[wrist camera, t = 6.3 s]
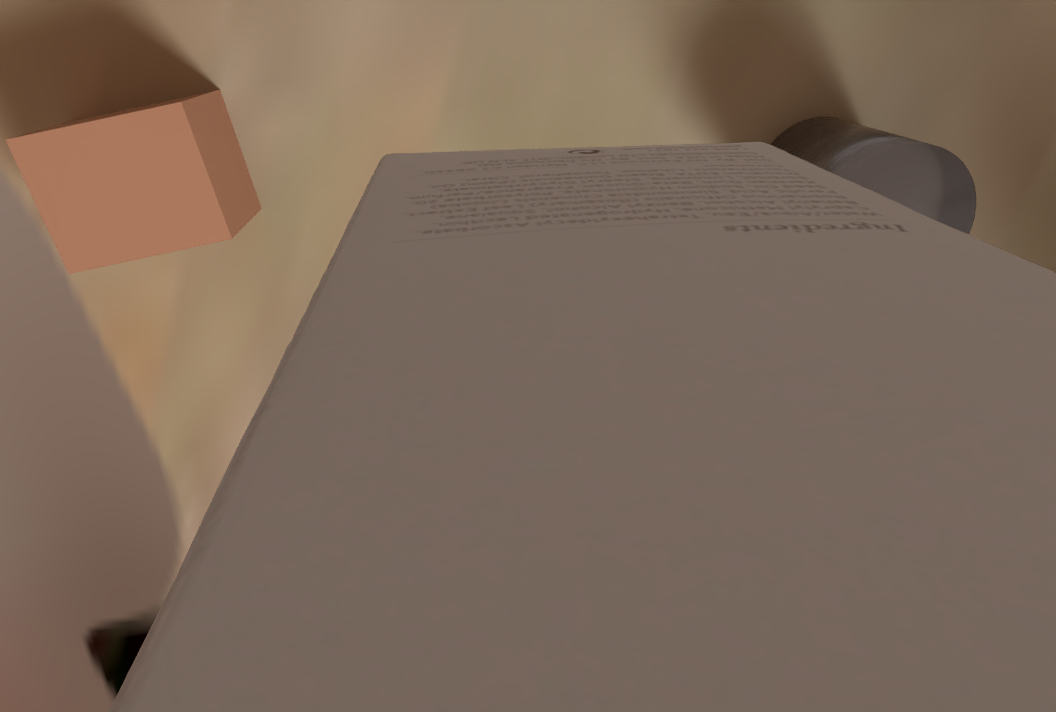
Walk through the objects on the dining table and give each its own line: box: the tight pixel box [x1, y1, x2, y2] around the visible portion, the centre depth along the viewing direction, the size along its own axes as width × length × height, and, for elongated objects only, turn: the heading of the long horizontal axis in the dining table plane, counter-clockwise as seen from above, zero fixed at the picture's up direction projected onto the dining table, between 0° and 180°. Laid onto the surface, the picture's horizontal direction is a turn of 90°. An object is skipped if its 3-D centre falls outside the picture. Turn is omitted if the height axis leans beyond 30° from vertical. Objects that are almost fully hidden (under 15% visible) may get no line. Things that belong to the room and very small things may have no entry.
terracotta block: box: [6, 89, 261, 274], centre depth 24 cm, size 5×4×4 cm
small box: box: [109, 142, 1056, 712], centre depth 8 cm, size 8×6×10 cm
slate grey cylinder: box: [771, 117, 976, 234], centre depth 25 cm, size 4×4×6 cm
